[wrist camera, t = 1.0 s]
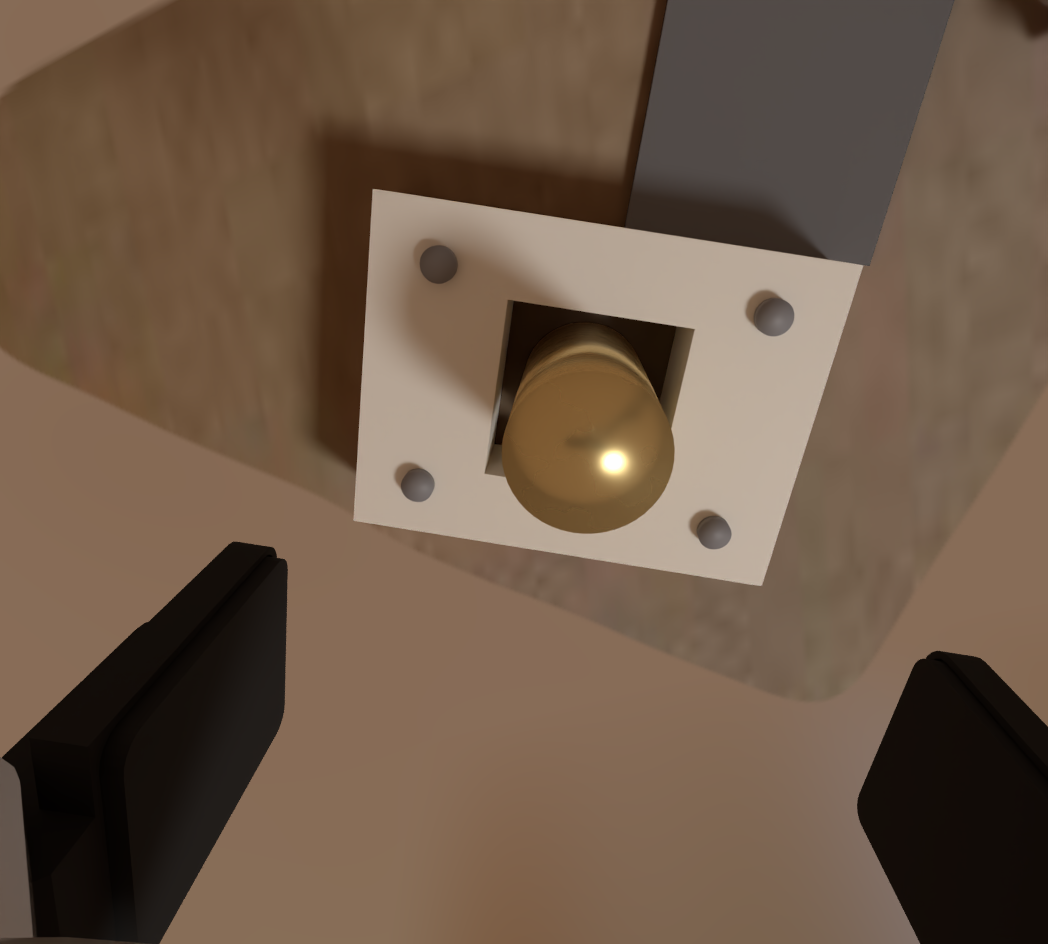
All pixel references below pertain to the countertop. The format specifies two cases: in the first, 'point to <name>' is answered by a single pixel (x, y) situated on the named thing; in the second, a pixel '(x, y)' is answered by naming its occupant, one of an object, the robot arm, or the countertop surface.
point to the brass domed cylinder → (586, 433)
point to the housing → (603, 288)
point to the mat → (783, 121)
